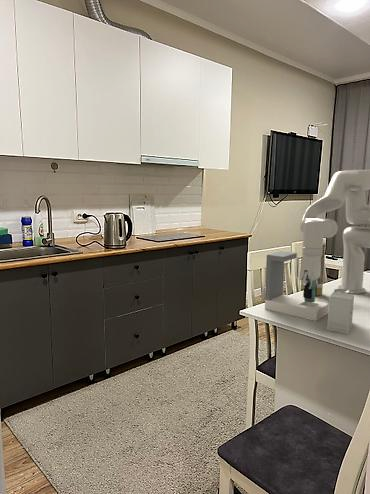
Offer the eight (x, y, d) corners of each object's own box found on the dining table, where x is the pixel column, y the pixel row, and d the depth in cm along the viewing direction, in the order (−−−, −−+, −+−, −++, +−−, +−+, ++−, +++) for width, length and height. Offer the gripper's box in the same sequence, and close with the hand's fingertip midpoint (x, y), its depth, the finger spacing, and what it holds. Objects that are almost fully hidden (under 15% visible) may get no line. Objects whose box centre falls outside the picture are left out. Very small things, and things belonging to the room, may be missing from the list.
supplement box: (348, 334, 128) (351, 299, 126) (326, 330, 132) (328, 296, 130) (352, 328, 135) (354, 294, 133) (330, 324, 138) (332, 291, 136)
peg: (303, 299, 151) (304, 275, 149) (313, 299, 151) (314, 275, 149) (305, 302, 147) (307, 277, 145) (316, 302, 147) (317, 277, 145)
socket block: (278, 302, 165) (280, 251, 161) (328, 313, 151) (331, 257, 147) (264, 308, 156) (266, 254, 152) (316, 321, 142) (319, 261, 138)
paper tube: (322, 293, 179) (325, 241, 175) (321, 296, 173) (324, 243, 169) (308, 291, 182) (310, 240, 178) (306, 295, 176) (309, 242, 172)
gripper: (311, 248, 154) (309, 290, 157) (293, 253, 142) (291, 299, 145) (329, 250, 149) (327, 294, 152) (313, 255, 137) (310, 303, 140)
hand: (309, 296), depth 148 cm, fingers closed on peg, 4 cm apart
